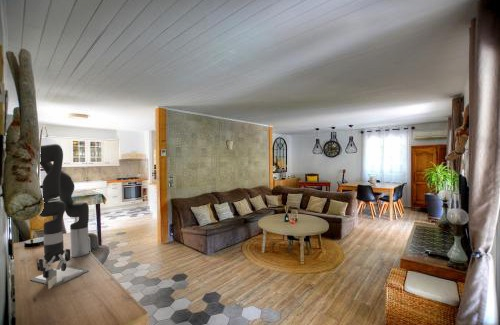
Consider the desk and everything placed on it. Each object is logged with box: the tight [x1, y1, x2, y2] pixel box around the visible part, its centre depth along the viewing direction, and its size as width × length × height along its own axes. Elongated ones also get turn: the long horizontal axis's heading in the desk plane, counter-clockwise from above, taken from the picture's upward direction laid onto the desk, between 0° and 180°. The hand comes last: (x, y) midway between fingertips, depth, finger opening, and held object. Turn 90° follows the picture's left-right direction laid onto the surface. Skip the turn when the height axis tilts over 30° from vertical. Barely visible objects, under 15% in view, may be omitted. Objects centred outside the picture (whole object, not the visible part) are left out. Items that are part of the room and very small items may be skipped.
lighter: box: [46, 260, 64, 281], centre depth 118 cm, size 7×2×8 cm, turn 131°
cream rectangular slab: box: [47, 276, 57, 290], centre depth 113 cm, size 5×1×4 cm, turn 9°
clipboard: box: [29, 265, 90, 288], centre depth 123 cm, size 16×20×2 cm
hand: (55, 274), depth 118 cm, fingers closed on lighter, 7 cm apart
